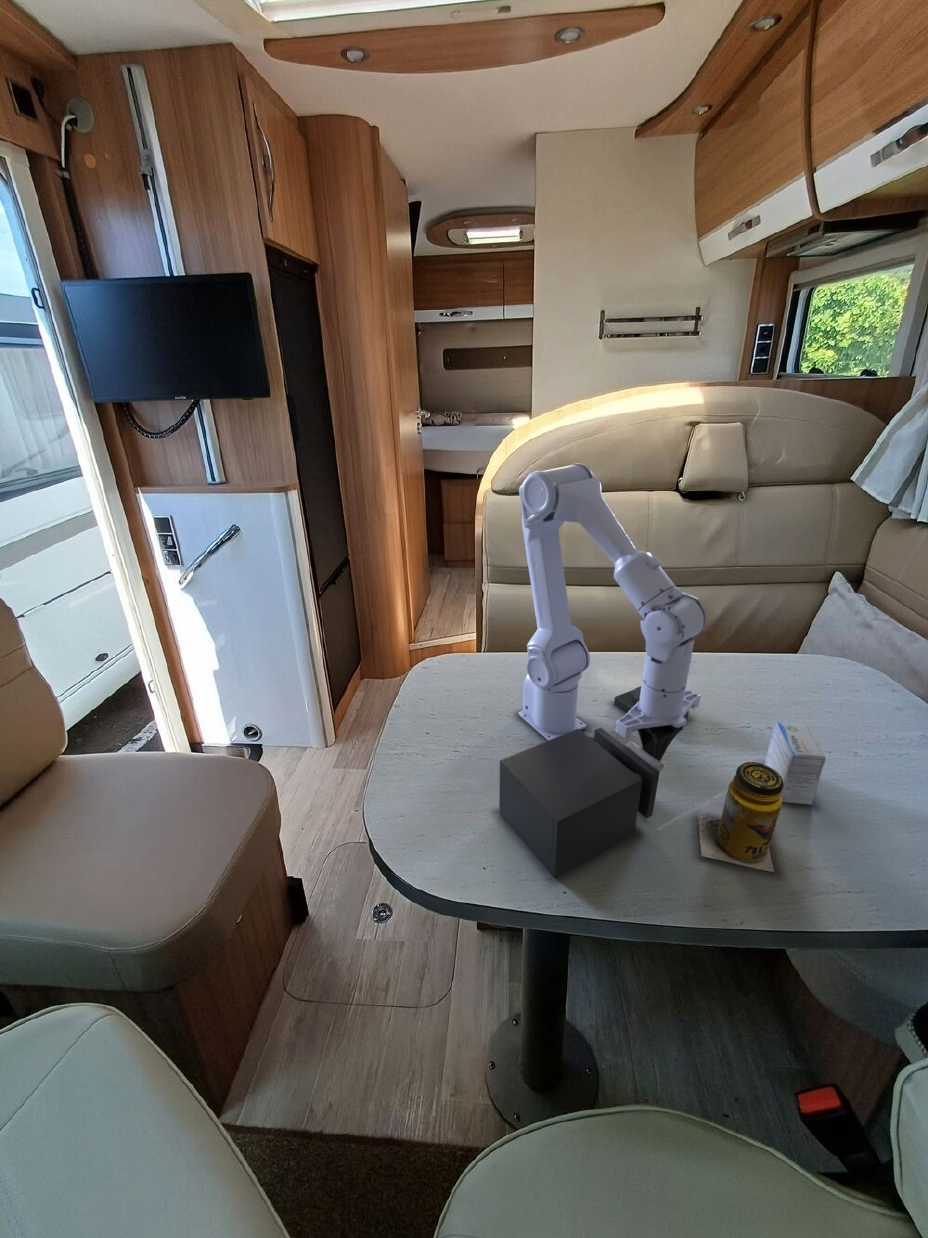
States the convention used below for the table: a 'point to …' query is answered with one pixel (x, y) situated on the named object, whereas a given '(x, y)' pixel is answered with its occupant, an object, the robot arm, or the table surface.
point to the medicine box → (796, 761)
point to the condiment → (745, 819)
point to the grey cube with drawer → (568, 800)
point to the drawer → (634, 766)
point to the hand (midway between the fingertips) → (651, 759)
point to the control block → (631, 700)
